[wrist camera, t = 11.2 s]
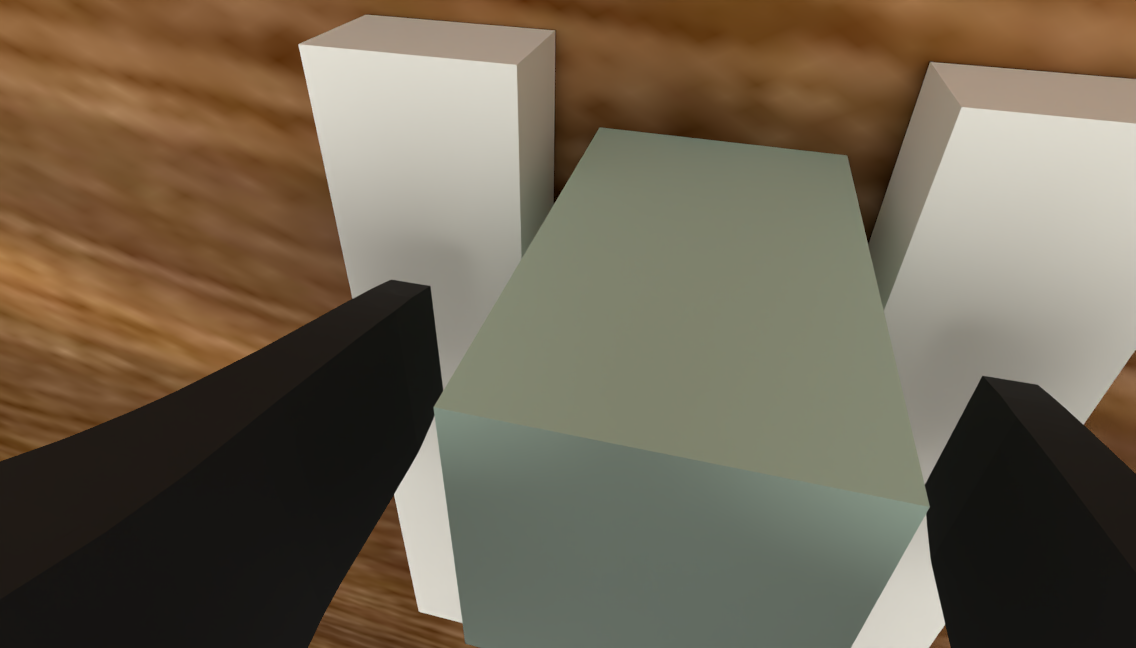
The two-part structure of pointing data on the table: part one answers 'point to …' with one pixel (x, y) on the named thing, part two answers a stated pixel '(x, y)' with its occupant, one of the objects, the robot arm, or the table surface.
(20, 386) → the table surface
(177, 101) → the table surface
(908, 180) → the notched board
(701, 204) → the block
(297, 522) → the robot arm
